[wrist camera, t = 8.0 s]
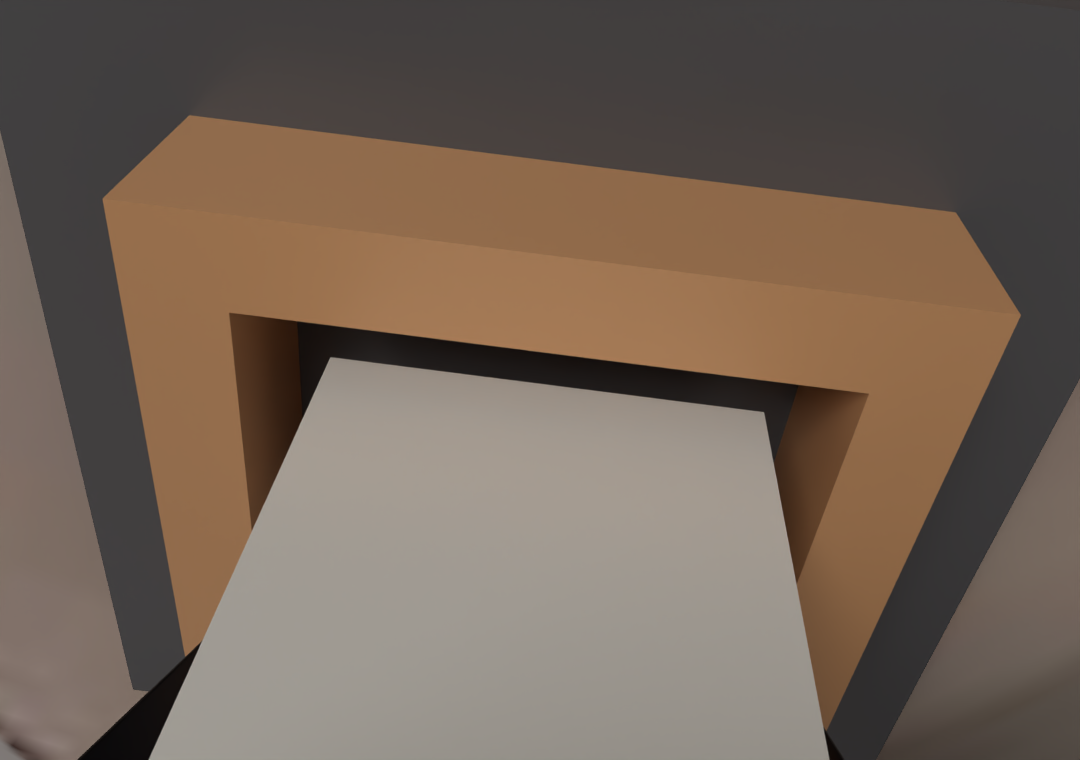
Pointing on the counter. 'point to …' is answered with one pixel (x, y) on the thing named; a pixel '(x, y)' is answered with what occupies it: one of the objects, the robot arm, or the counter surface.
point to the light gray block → (507, 585)
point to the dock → (563, 261)
